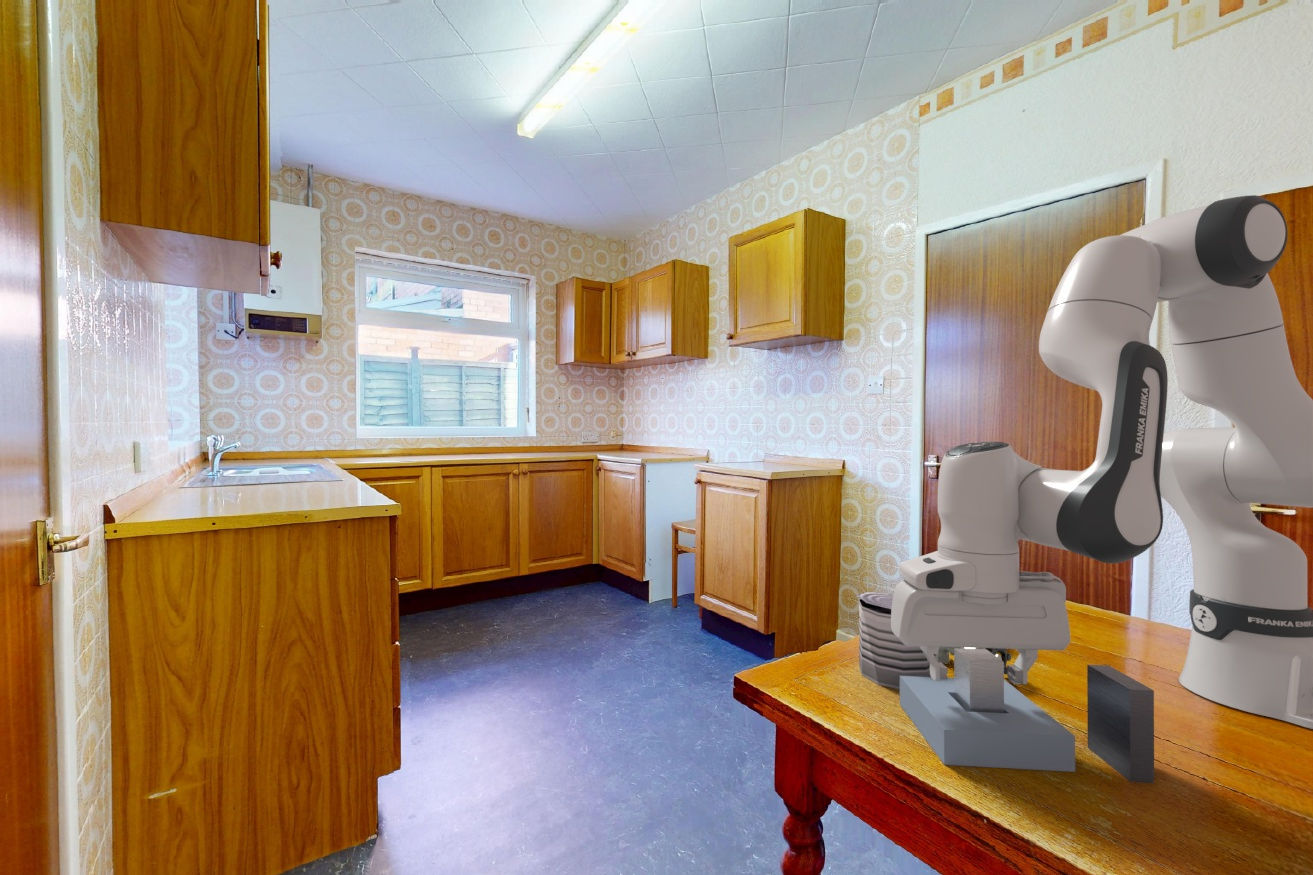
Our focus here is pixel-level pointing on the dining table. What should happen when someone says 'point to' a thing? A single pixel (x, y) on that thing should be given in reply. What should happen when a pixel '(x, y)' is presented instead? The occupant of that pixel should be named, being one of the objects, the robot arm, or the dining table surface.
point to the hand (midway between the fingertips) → (977, 680)
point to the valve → (944, 651)
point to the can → (885, 645)
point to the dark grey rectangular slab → (1121, 722)
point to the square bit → (978, 680)
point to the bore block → (986, 729)
